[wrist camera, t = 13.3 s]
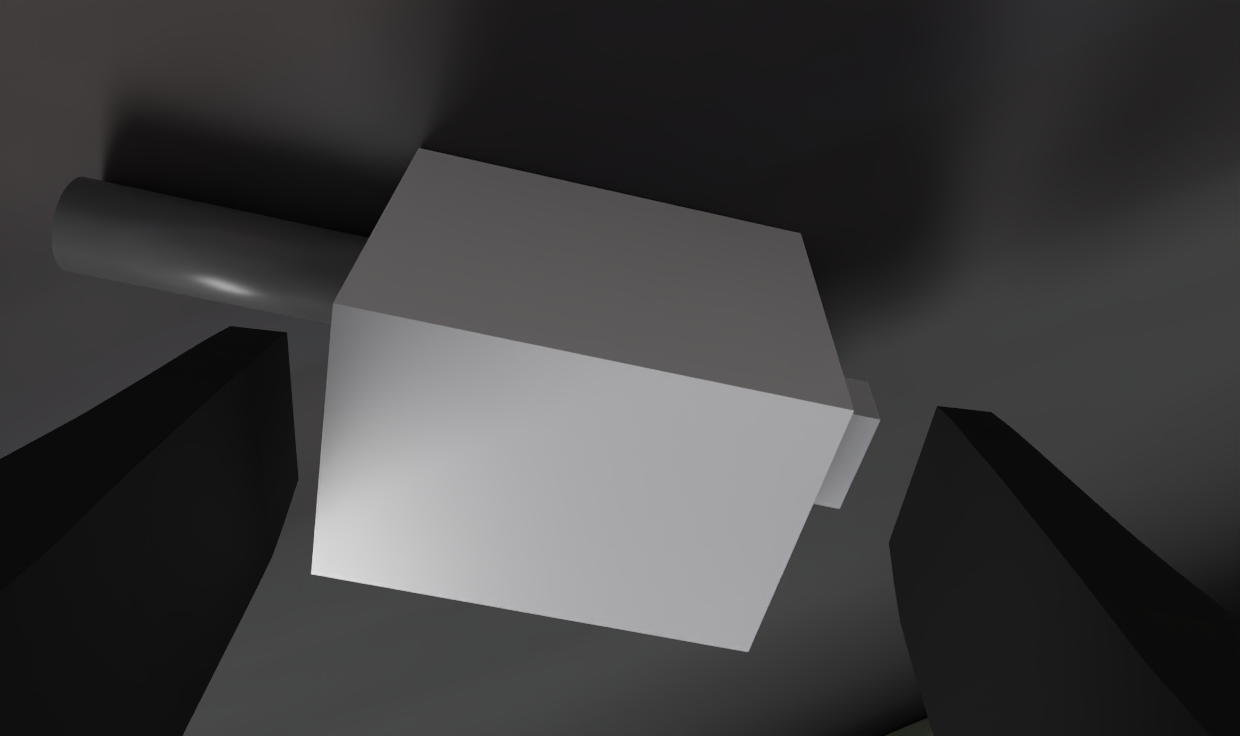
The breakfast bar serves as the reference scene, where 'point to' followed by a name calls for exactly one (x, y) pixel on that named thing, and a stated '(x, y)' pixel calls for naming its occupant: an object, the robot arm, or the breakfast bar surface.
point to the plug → (535, 387)
